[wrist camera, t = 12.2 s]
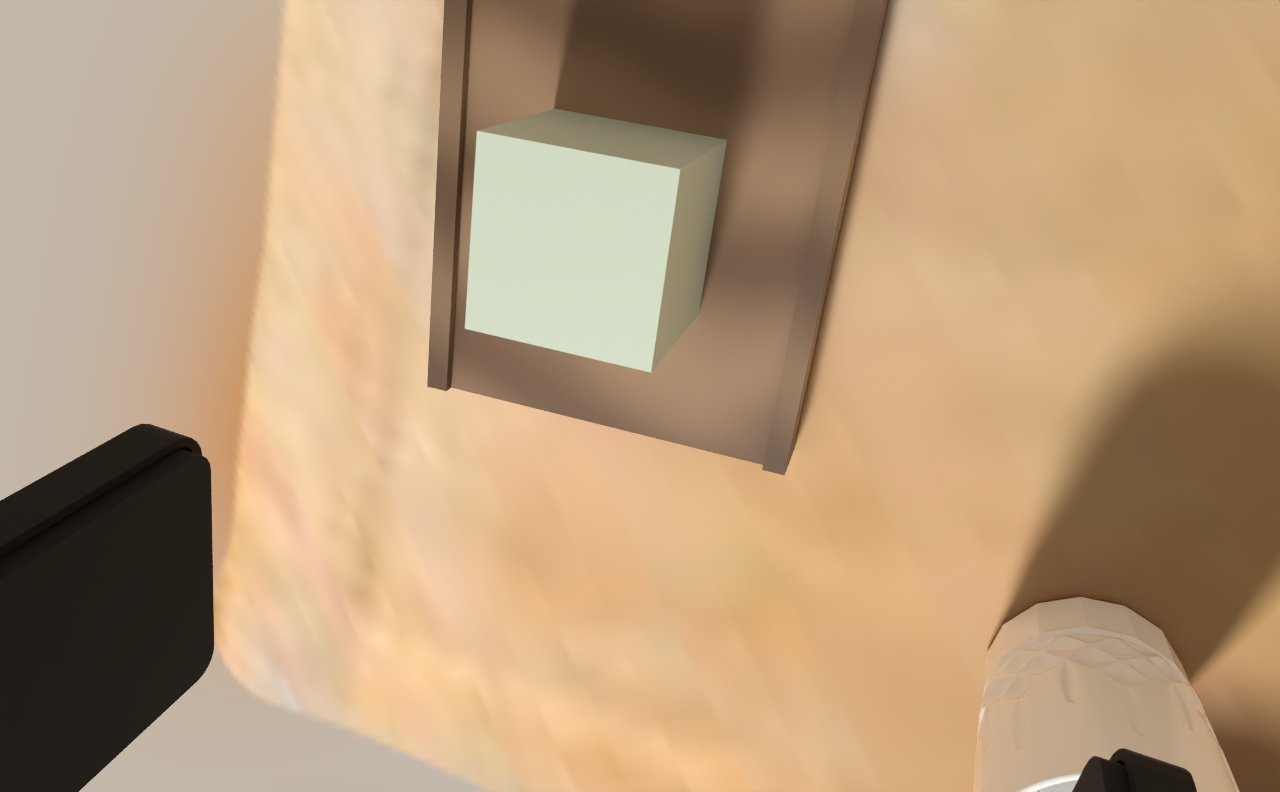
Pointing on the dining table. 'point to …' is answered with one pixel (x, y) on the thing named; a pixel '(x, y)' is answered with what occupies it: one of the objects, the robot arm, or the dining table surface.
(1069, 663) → the white cup
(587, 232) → the sage block
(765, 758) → the dining table surface
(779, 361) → the board
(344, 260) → the dining table surface
